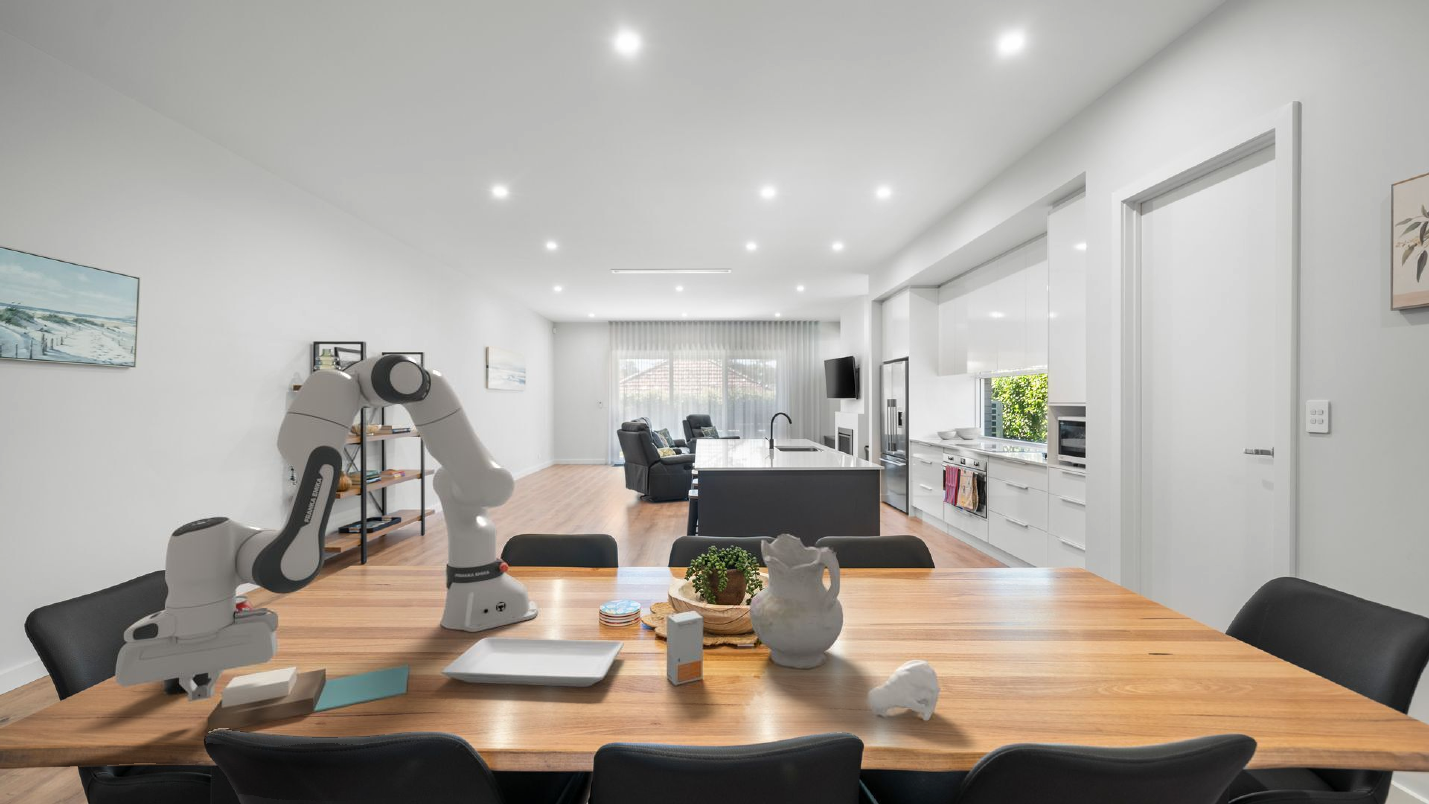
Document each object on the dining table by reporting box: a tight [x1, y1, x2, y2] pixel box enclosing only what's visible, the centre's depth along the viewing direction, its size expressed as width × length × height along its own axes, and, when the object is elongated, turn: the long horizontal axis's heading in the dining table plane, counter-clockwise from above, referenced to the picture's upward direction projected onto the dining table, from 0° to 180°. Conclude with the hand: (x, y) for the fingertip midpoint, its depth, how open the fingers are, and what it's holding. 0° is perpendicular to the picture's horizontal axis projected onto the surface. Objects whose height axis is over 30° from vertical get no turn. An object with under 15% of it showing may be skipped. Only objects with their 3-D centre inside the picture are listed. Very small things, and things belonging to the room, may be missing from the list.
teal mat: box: [313, 664, 410, 713], centre depth 104 cm, size 14×12×1 cm
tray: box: [440, 637, 625, 688], centre depth 111 cm, size 17×31×4 cm, turn 85°
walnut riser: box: [206, 668, 327, 733], centre depth 98 cm, size 14×12×2 cm
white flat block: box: [221, 666, 298, 708], centre depth 98 cm, size 9×6×2 cm, turn 116°
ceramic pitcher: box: [749, 533, 844, 670], centre depth 116 cm, size 22×20×25 cm
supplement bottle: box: [162, 673, 213, 695], centre depth 105 cm, size 7×7×12 cm
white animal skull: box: [867, 659, 941, 722], centre depth 95 cm, size 6×8×12 cm
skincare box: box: [666, 610, 704, 686], centre depth 107 cm, size 6×4×12 cm
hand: (201, 698), depth 94 cm, fingers closed
